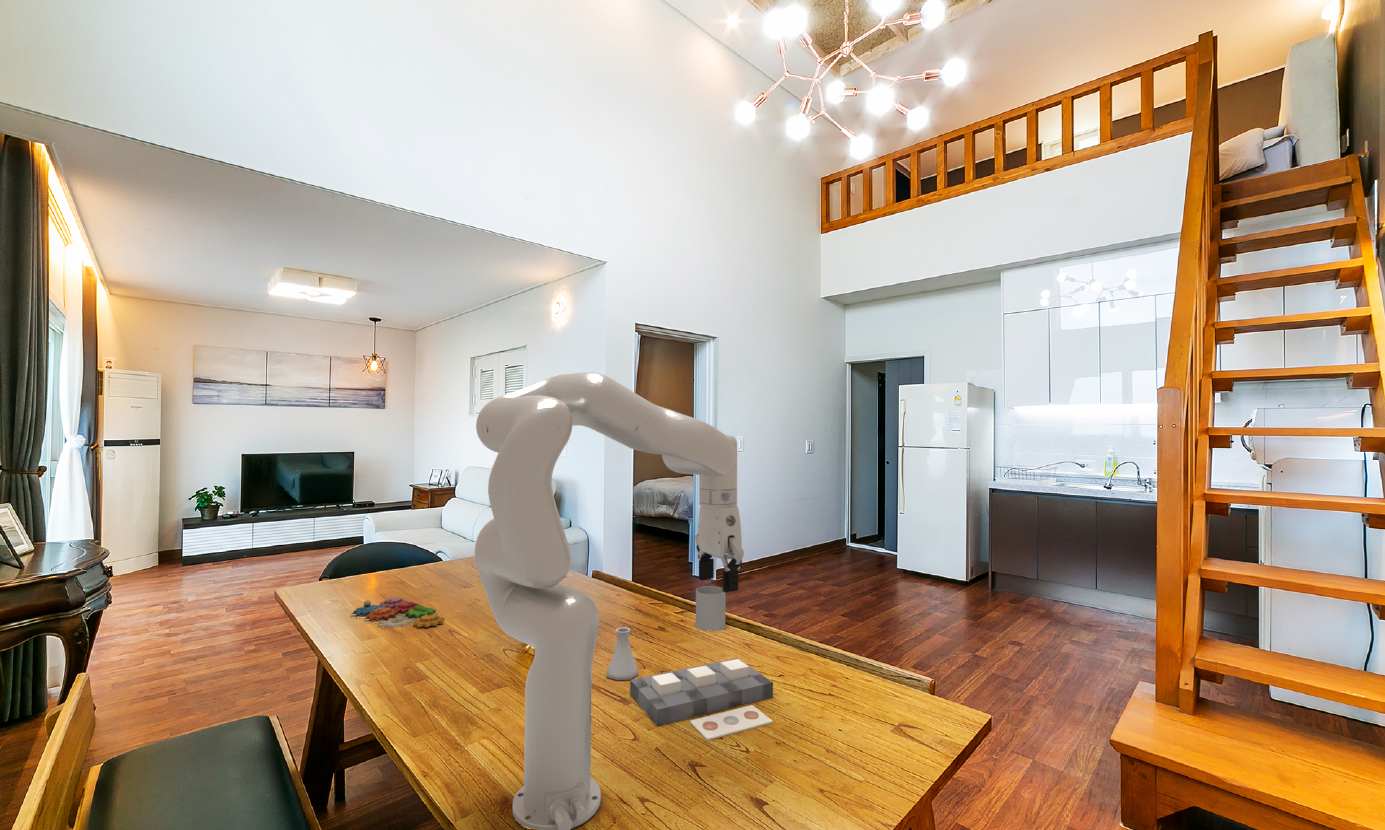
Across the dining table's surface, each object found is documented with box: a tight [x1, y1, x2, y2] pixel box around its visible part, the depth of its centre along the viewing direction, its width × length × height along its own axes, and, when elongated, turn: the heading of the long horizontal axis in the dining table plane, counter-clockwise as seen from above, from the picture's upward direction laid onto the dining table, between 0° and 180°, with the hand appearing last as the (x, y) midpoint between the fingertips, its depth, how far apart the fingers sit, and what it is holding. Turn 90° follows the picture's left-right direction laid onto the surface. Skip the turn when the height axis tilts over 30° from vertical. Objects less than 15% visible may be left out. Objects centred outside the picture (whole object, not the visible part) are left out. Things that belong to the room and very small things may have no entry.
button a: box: [720, 658, 750, 681], centre depth 123 cm, size 4×4×4 cm
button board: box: [629, 657, 774, 727], centre depth 119 cm, size 14×26×3 cm, turn 117°
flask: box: [606, 626, 639, 681], centre depth 129 cm, size 7×7×10 cm
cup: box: [695, 585, 727, 632], centre depth 161 cm, size 8×8×10 cm
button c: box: [651, 673, 681, 696], centre depth 115 cm, size 4×4×4 cm
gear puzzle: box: [350, 596, 445, 629], centre depth 166 cm, size 31×16×4 cm, turn 58°
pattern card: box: [689, 704, 774, 741], centre depth 108 cm, size 7×14×1 cm, turn 117°
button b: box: [687, 665, 716, 688], centre depth 119 cm, size 4×4×4 cm
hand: (717, 584), depth 113 cm, fingers open, 9 cm apart
